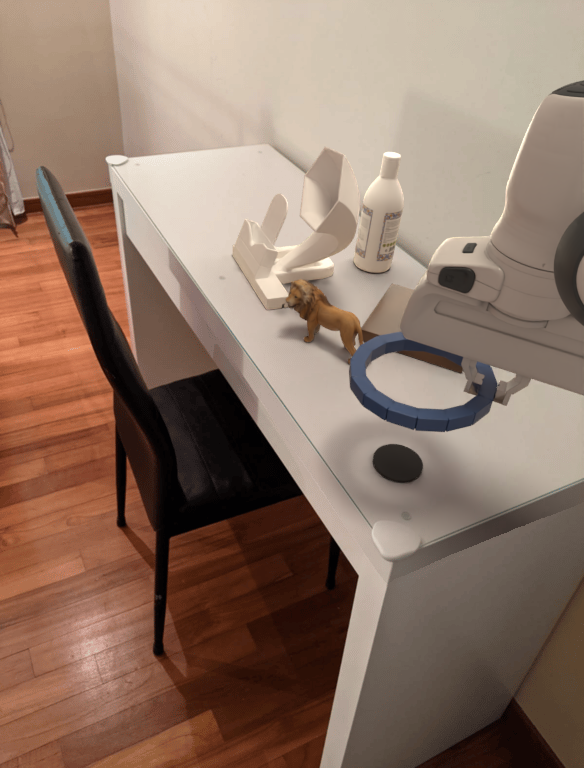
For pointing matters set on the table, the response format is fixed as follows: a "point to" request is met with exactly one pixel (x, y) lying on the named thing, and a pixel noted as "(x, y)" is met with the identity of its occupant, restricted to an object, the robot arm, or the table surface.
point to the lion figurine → (323, 314)
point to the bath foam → (380, 218)
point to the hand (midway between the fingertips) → (485, 395)
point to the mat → (397, 463)
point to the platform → (398, 324)
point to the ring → (405, 413)
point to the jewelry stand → (311, 258)
